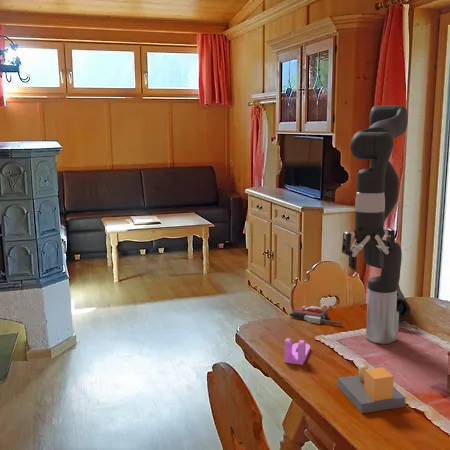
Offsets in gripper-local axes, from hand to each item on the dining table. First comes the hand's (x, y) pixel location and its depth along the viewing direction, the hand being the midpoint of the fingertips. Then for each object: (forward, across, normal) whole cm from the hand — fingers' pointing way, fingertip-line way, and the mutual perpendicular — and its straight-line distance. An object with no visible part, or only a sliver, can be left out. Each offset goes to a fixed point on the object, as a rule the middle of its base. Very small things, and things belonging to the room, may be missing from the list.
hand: (367, 268), depth 142 cm
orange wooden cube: (+30, +3, +13) cm, 32 cm away
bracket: (+32, +12, -20) cm, 40 cm away
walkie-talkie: (+33, -5, -46) cm, 56 cm away
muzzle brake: (+32, -34, -46) cm, 66 cm away
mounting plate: (+32, +3, +9) cm, 33 cm away
